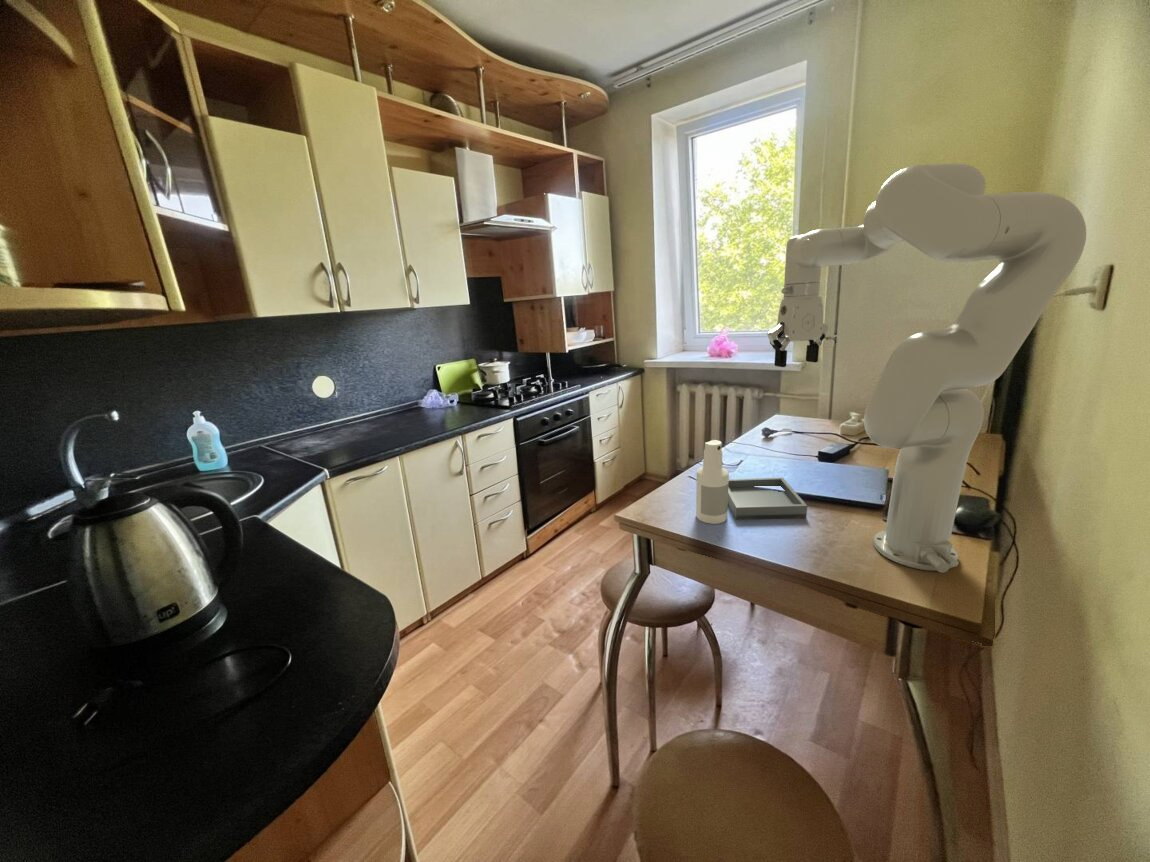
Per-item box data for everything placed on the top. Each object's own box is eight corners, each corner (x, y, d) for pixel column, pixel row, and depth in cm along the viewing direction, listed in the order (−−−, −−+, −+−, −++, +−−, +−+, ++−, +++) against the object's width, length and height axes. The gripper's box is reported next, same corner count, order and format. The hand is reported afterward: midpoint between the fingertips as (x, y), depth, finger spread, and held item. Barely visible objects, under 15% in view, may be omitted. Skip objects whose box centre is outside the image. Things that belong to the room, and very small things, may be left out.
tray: (806, 518, 98) (807, 505, 97) (735, 519, 100) (736, 507, 99) (781, 488, 113) (782, 477, 112) (720, 490, 114) (721, 479, 113)
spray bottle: (712, 527, 97) (714, 450, 92) (689, 515, 103) (690, 442, 98) (734, 518, 101) (737, 442, 95) (710, 507, 106) (712, 435, 101)
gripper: (783, 293, 99) (779, 370, 104) (843, 288, 104) (836, 361, 109) (759, 294, 106) (756, 366, 111) (817, 289, 111) (811, 358, 116)
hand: (796, 364), depth 110 cm, fingers open, 9 cm apart
